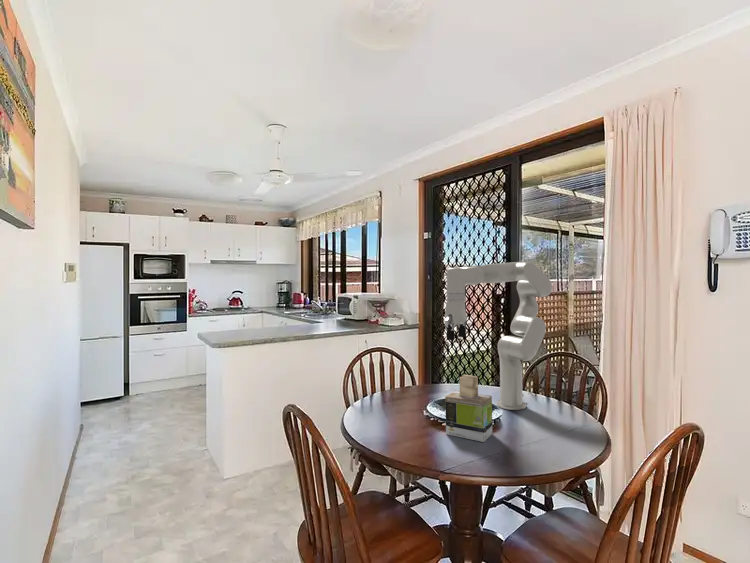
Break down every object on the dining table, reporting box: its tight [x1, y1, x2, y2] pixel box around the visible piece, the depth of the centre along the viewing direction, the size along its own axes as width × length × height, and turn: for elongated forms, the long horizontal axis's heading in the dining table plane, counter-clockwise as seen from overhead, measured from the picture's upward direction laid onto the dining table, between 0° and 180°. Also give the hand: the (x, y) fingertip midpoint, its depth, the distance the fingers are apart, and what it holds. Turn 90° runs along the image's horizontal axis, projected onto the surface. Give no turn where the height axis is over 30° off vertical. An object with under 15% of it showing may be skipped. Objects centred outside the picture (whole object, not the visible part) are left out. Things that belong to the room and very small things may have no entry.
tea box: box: [444, 390, 493, 443], centre depth 159 cm, size 15×10×15 cm, turn 56°
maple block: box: [459, 374, 479, 398], centre depth 159 cm, size 5×5×7 cm
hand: (456, 338), depth 176 cm, fingers open, 9 cm apart
